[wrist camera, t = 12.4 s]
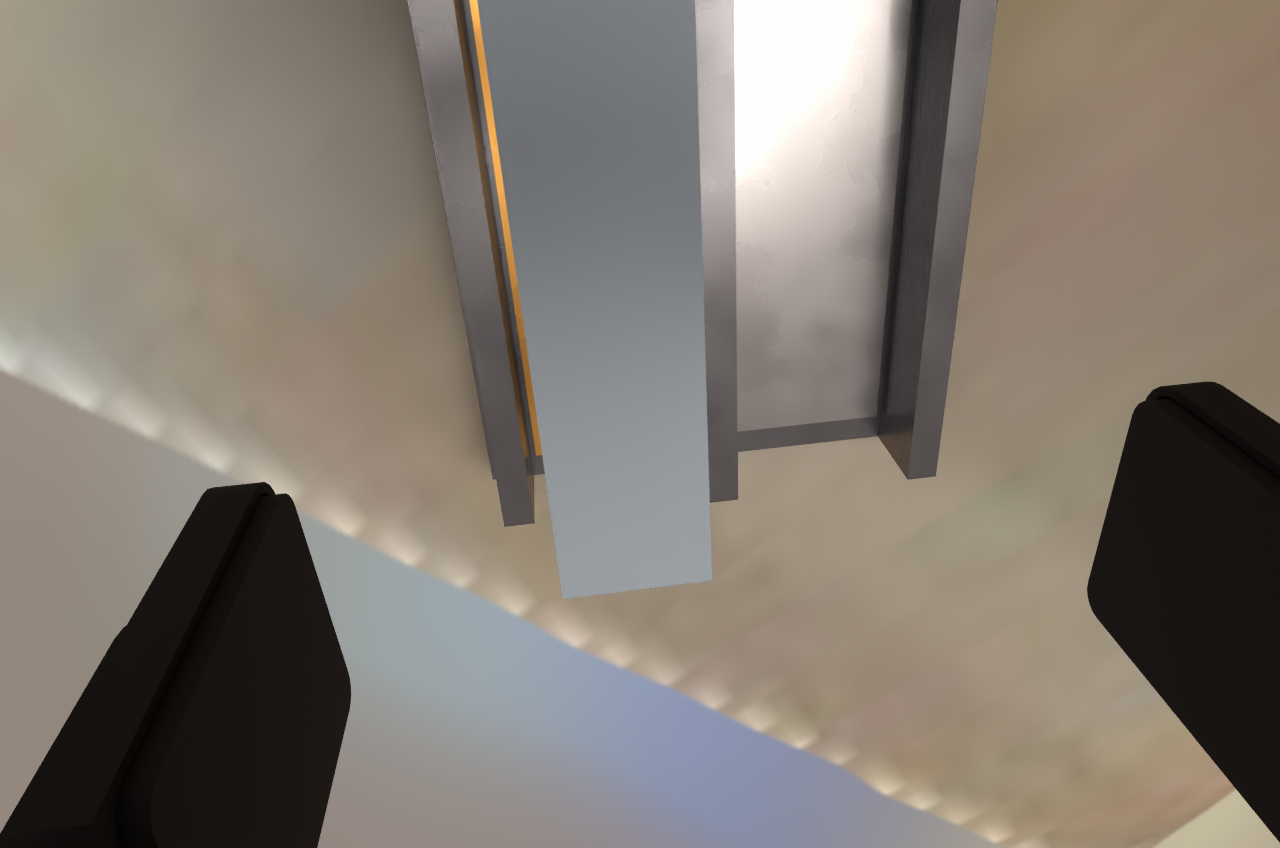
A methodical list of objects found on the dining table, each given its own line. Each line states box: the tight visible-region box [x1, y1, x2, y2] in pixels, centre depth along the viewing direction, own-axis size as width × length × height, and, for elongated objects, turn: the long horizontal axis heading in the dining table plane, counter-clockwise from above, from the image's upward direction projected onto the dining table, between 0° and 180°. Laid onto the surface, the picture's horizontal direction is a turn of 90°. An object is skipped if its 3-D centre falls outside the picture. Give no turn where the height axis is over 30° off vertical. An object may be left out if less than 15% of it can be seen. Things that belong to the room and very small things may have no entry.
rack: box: [407, 0, 998, 527], centre depth 26 cm, size 22×16×4 cm
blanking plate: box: [477, 0, 712, 599], centre depth 22 cm, size 18×4×9 cm, turn 4°
